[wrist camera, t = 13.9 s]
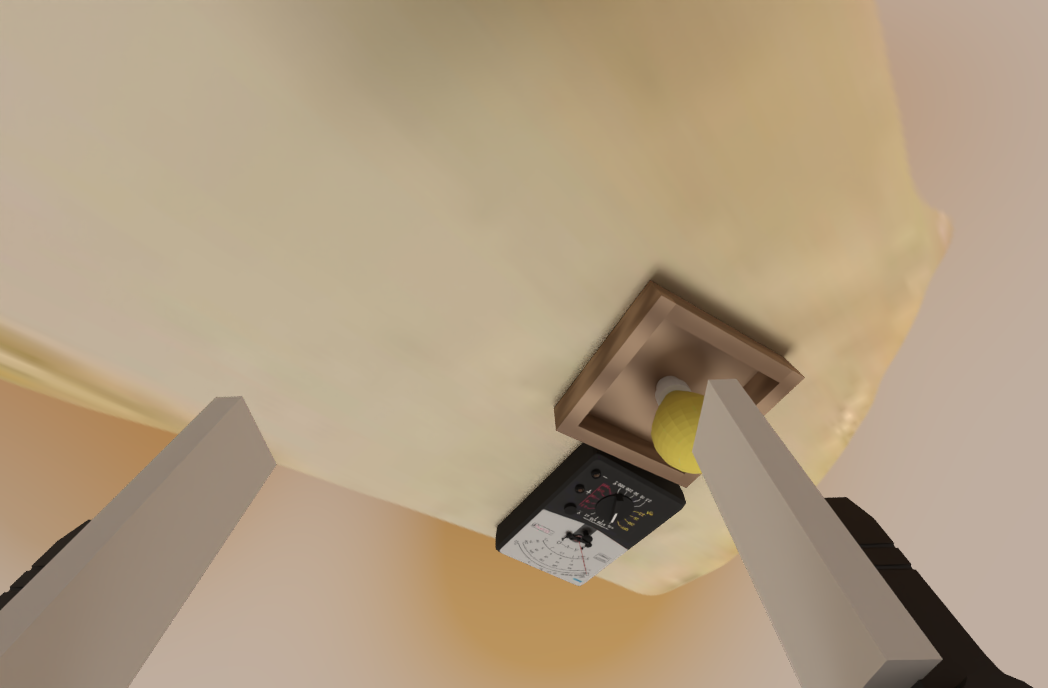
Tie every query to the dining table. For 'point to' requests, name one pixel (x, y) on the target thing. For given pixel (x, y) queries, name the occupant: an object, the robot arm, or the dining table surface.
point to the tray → (656, 352)
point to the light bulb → (676, 423)
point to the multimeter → (587, 515)
